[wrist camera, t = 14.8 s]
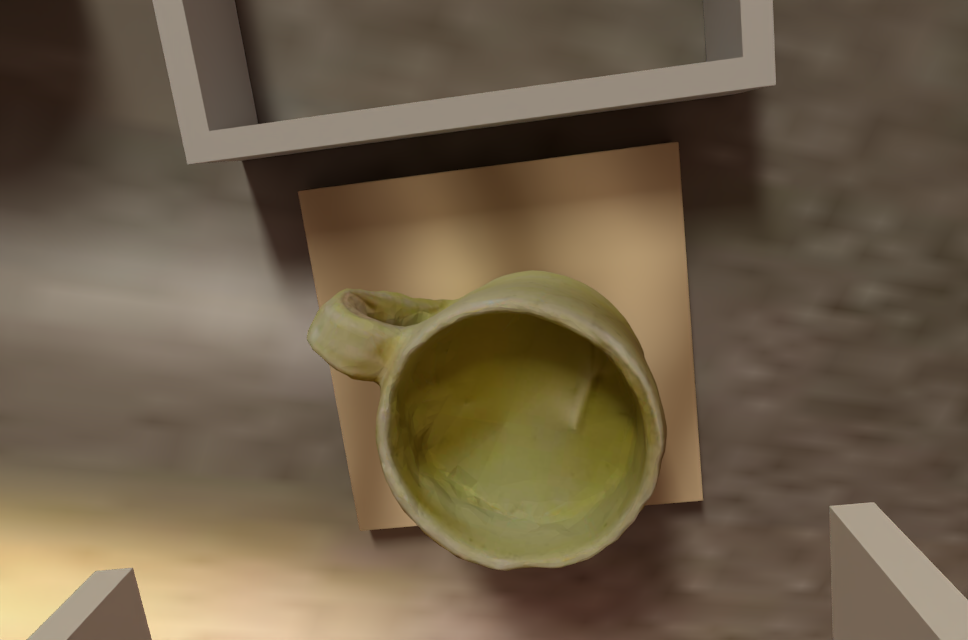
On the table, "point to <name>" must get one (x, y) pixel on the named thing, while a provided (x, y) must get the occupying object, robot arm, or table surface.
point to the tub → (237, 135)
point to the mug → (506, 414)
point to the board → (510, 249)
